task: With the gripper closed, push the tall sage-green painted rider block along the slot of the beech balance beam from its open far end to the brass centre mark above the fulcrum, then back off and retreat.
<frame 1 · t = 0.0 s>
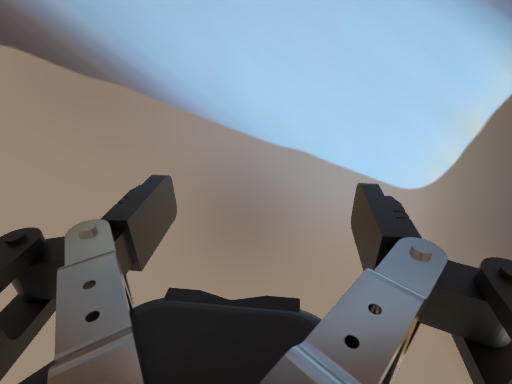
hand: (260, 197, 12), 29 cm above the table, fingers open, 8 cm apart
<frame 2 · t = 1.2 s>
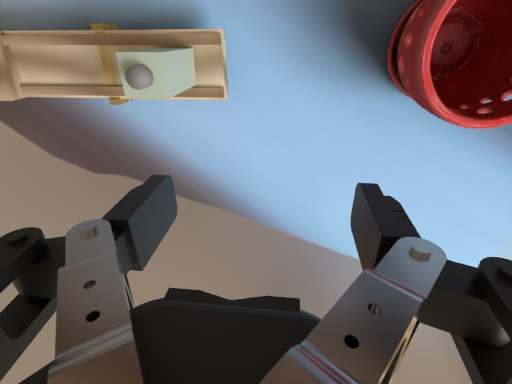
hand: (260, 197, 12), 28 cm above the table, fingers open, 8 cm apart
plant pot: (440, 43, 33), on the table
beam: (134, 61, 37), on the table
rider: (159, 71, 27), point 11 cm above the table, slide at 8.0 cm
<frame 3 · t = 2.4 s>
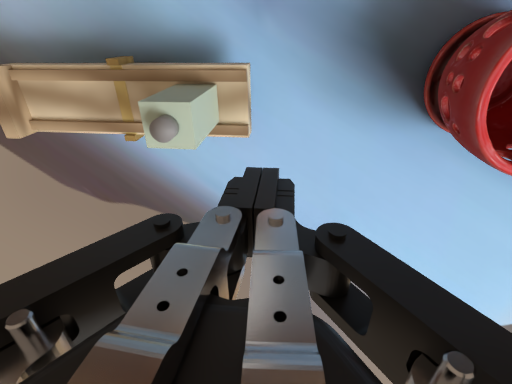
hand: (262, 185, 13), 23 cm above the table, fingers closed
plant pot: (481, 74, 30), on the table
beam: (149, 91, 35), on the table
rider: (182, 114, 25), point 11 cm above the table, slide at 8.0 cm
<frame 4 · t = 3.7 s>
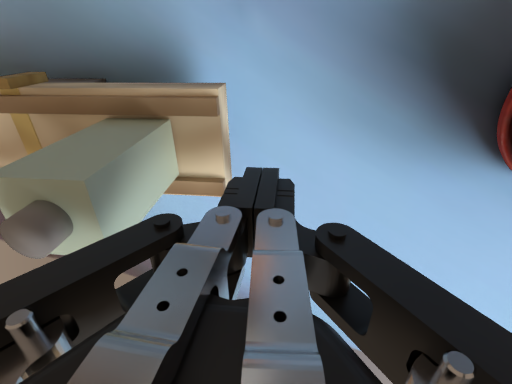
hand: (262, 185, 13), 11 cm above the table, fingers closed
beam: (88, 118, 24), on the table
rider: (101, 180, 14), point 11 cm above the table, slide at 8.0 cm
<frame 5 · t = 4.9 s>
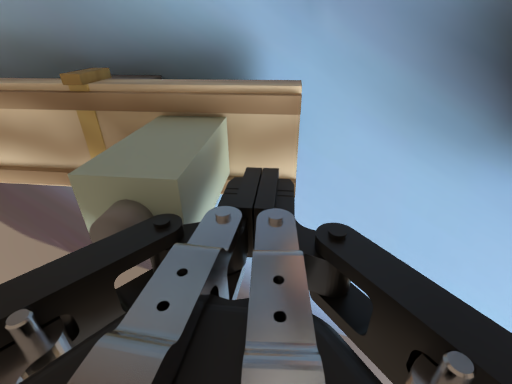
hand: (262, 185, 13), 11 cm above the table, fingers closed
beam: (139, 116, 24), on the table
rider: (167, 179, 14), point 11 cm above the table, slide at 6.8 cm, touching gripper
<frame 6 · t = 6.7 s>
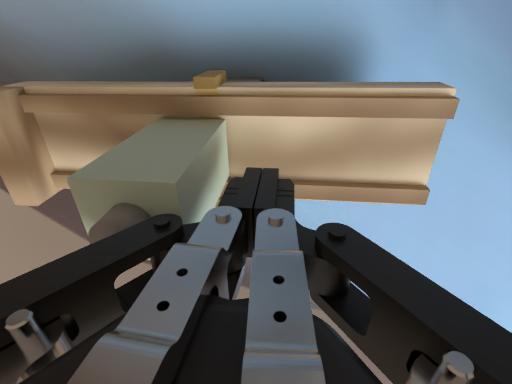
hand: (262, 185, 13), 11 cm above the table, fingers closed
beam: (231, 120, 23), on the table
rider: (166, 181, 14), point 11 cm above the table, slide at -1.0 cm, touching gripper
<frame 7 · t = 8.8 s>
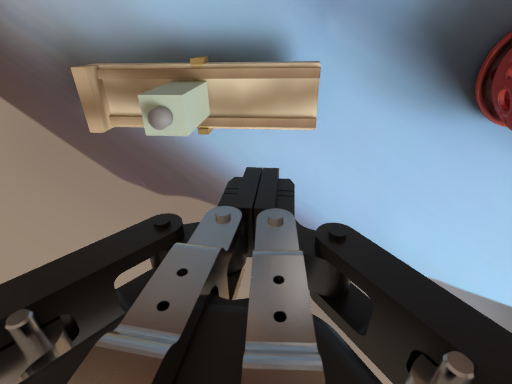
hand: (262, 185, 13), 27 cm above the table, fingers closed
beam: (213, 88, 38), on the table
rider: (176, 107, 28), point 11 cm above the table, slide at -1.0 cm
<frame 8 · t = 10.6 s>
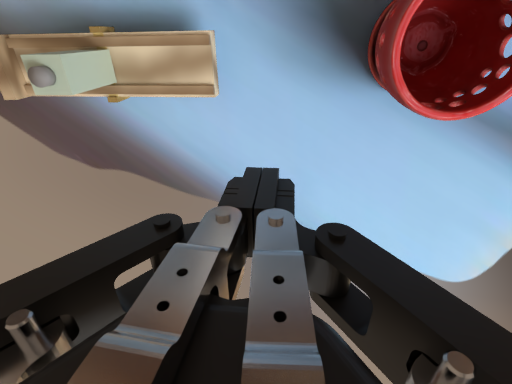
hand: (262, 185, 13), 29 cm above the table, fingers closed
plant pot: (418, 40, 34), on the table
beam: (131, 61, 39), on the table
rider: (71, 71, 30), point 11 cm above the table, slide at -1.0 cm
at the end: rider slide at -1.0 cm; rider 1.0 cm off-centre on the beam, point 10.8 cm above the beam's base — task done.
